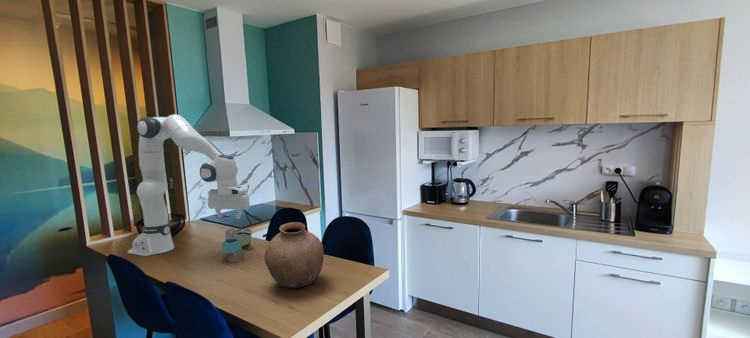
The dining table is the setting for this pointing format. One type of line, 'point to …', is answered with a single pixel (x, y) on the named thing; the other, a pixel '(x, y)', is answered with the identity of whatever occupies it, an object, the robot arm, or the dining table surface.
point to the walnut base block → (232, 257)
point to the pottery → (294, 256)
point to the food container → (244, 238)
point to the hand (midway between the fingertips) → (229, 218)
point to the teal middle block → (231, 246)
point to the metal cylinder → (231, 235)
